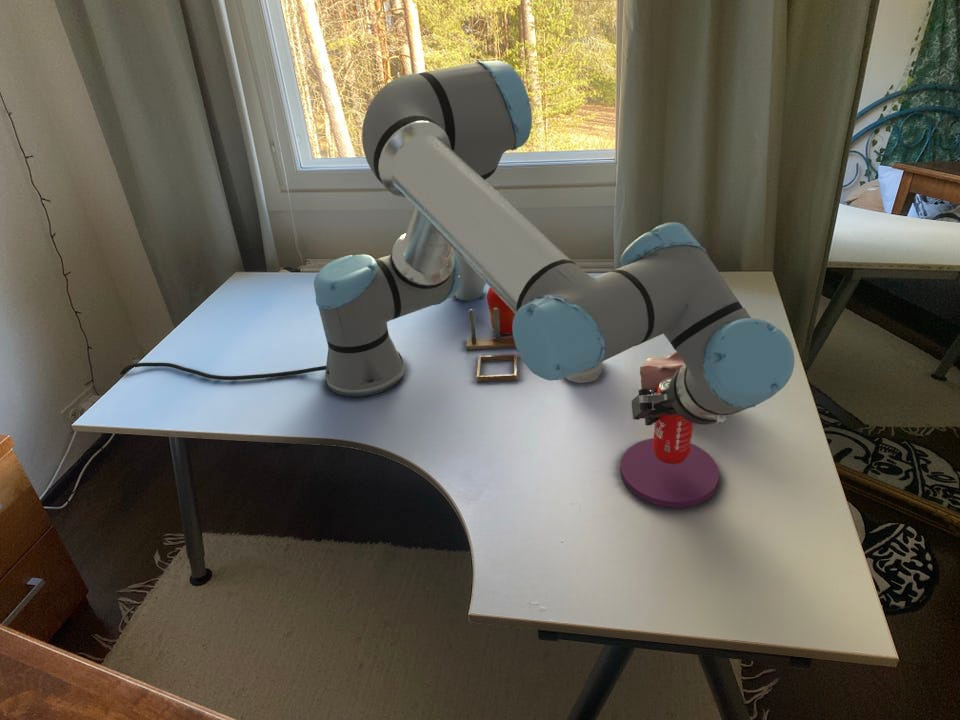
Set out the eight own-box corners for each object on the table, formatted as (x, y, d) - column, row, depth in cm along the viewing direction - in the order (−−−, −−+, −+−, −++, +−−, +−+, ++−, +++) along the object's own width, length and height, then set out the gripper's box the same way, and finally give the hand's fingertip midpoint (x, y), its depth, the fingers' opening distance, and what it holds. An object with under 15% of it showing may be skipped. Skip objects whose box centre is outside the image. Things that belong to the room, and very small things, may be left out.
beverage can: (683, 470, 88) (691, 401, 82) (647, 459, 91) (652, 392, 84) (693, 448, 92) (702, 381, 86) (658, 439, 94) (664, 372, 88)
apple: (507, 344, 129) (504, 292, 123) (480, 331, 135) (476, 281, 128) (536, 328, 134) (534, 278, 127) (509, 316, 139) (506, 267, 133)
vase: (426, 300, 149) (412, 197, 136) (462, 277, 159) (452, 179, 146) (475, 313, 142) (465, 206, 128) (510, 288, 151) (504, 186, 138)
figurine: (652, 429, 108) (737, 418, 98) (628, 380, 106) (712, 363, 96) (676, 393, 117) (756, 379, 106) (654, 346, 114) (734, 328, 104)
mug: (553, 377, 117) (552, 321, 111) (582, 348, 125) (582, 294, 119) (591, 388, 113) (592, 331, 107) (618, 357, 121) (620, 302, 115)
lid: (609, 493, 91) (609, 487, 90) (632, 435, 101) (633, 429, 101) (710, 519, 85) (711, 512, 85) (724, 455, 96) (725, 449, 95)
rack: (531, 379, 118) (529, 340, 113) (462, 382, 119) (458, 343, 114) (529, 339, 130) (528, 302, 126) (467, 342, 131) (463, 306, 127)
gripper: (629, 424, 70) (606, 443, 92) (799, 418, 68) (734, 438, 91) (623, 358, 71) (603, 393, 94) (789, 351, 70) (728, 387, 92)
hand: (667, 415), depth 92 cm, fingers closed on beverage can, 5 cm apart
